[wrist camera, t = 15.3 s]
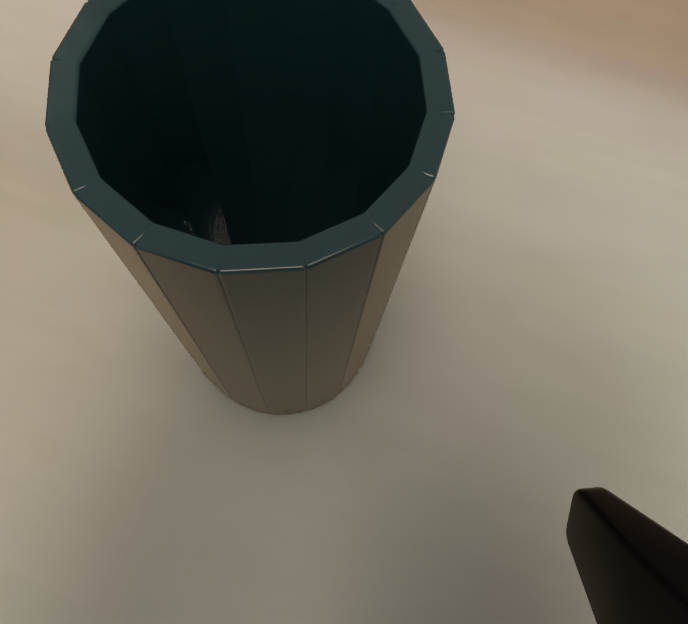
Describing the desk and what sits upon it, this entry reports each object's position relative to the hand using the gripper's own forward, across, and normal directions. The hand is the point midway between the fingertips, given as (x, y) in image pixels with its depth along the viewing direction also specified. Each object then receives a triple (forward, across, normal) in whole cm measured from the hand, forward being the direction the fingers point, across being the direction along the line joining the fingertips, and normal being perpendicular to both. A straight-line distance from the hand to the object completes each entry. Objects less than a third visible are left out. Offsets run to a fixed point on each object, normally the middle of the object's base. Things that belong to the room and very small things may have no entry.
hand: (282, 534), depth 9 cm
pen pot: (+12, 0, +3) cm, 12 cm away
